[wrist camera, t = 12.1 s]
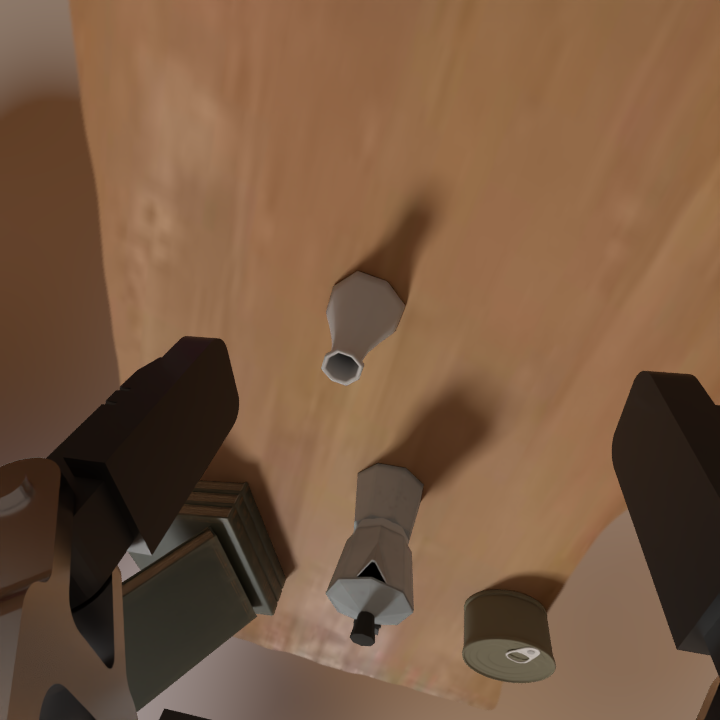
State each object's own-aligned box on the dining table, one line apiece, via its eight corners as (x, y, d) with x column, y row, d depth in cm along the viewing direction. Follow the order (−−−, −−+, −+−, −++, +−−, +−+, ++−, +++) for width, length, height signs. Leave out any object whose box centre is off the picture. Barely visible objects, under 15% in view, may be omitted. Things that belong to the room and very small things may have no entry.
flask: (355, 255, 40) (327, 308, 32) (419, 303, 41) (408, 365, 33) (314, 311, 44) (280, 370, 36) (374, 353, 45) (354, 419, 37)
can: (446, 608, 69) (444, 657, 64) (498, 577, 62) (501, 629, 57) (509, 640, 71) (513, 690, 65) (567, 614, 64) (576, 668, 58)
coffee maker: (355, 445, 53) (314, 595, 39) (431, 458, 52) (417, 617, 37) (352, 523, 62) (317, 670, 47) (417, 535, 60) (401, 690, 46)
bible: (286, 577, 74) (218, 777, 53) (180, 565, 78) (81, 745, 58) (248, 480, 61) (141, 692, 41) (125, 472, 66) (-26, 660, 46)
